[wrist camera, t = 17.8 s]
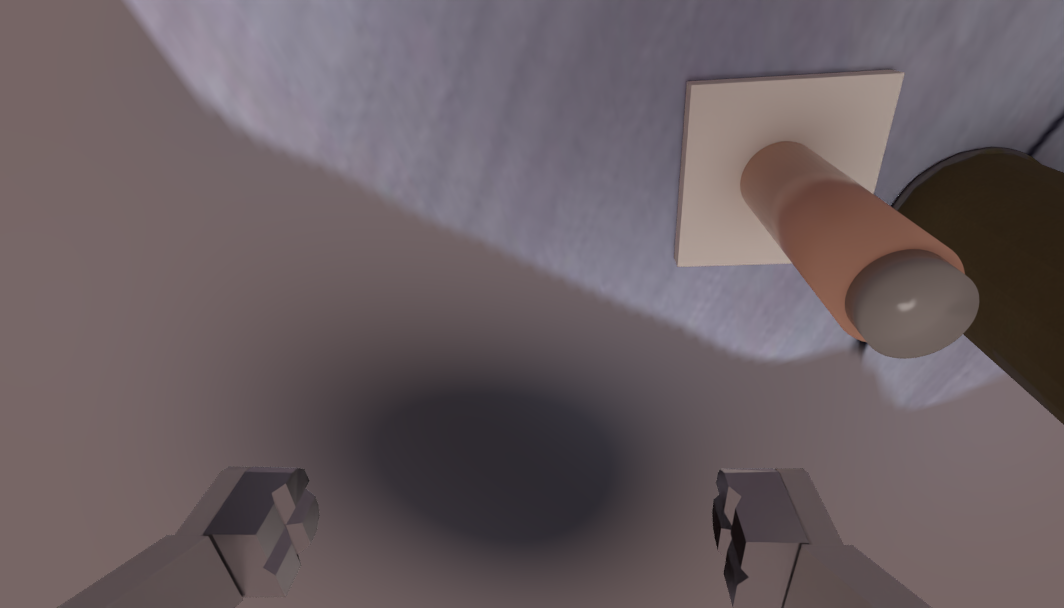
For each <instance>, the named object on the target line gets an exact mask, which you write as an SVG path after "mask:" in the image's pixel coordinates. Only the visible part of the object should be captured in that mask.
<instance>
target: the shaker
mask: <svg viewBox="0 0 1064 608" xmlns="http://www.w3.org/2000/svg"><path fill="white" fill-rule="evenodd" d="M740 190H741V194H742V197H743V199H744V201H745V202H746V204H747V205H748V206H749V208H750V209H751V210H752V212H753V213H754V214H755V215H756V217H757V218H758V219H759V221H760V222H761V223H762V225H763V226H764V227H765V228H766V230H767V231H768V232H769V234H770V235H771V236H772V238H773V239H774V240H775V241H776V243H777V244H778V245H779V247H780V248H781V249H782V251H783V252H784V253H785V254H786V256H787V257H788V258H789V260H790V261H791V262H792V264H793V265H794V266H795V267H796V269H797V270H798V271H799V273H800V274H801V275H802V277H803V278H804V279H805V280H806V282H807V283H808V284H809V286H810V287H811V288H812V290H813V291H814V292H815V293H816V295H817V296H818V297H819V299H820V300H821V301H822V303H823V304H824V305H825V307H826V308H827V309H828V310H829V312H830V313H831V314H832V316H833V317H834V318H835V320H836V321H837V322H838V323H839V325H840V326H841V327H842V328H843V330H844V331H845V332H847V333H848V334H849V335H851V336H852V337H854V338H856V339H858V340H861V341H864V342H867V343H868V344H869V345H870V346H871V347H872V348H873V349H874V350H875V351H877V352H879V353H880V354H883V355H885V356H889V357H893V358H916V357H921V356H925V355H928V354H931V353H934V352H936V351H939V350H941V349H943V348H945V347H946V346H948V345H950V344H951V343H953V342H954V341H955V340H957V339H958V338H959V337H960V336H961V335H962V334H963V333H964V332H965V331H966V330H967V329H968V328H969V327H970V325H971V324H972V322H973V320H974V319H975V316H976V314H977V311H978V308H979V293H978V290H977V287H976V285H975V284H974V283H973V281H972V280H971V279H970V278H969V277H968V276H966V275H965V272H964V267H963V264H962V262H961V260H960V259H959V257H958V256H957V254H956V253H955V252H953V251H952V250H951V249H950V248H948V247H947V246H946V245H944V244H943V243H941V242H940V241H939V240H937V239H936V238H934V237H933V236H932V235H930V234H929V233H927V232H926V231H925V230H923V229H922V228H920V227H919V226H917V225H916V224H915V223H913V222H912V221H910V220H909V219H908V218H906V217H905V216H903V215H902V214H901V213H899V212H898V211H896V210H895V209H894V208H892V207H891V206H889V205H888V204H887V203H885V202H884V201H882V200H881V199H880V198H878V197H877V196H875V195H874V194H872V193H871V192H870V191H868V190H867V189H865V188H864V187H863V186H861V185H860V184H858V183H857V182H856V181H854V180H853V179H851V178H850V177H849V176H847V175H846V174H844V173H843V172H842V171H840V170H839V169H837V168H836V167H835V166H833V165H832V164H830V163H829V162H828V161H826V160H825V159H823V158H822V157H820V156H819V155H818V154H816V153H815V152H813V151H812V150H811V149H809V148H808V147H806V146H805V145H803V144H801V143H797V142H792V141H783V142H777V143H773V144H771V145H768V146H766V147H764V148H763V149H761V150H760V151H758V152H757V153H756V154H755V155H754V156H753V157H752V158H751V159H750V160H749V162H748V163H747V165H746V166H745V168H744V170H743V173H742V176H741V180H740Z"/></svg>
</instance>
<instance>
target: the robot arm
mask: <svg viewBox="0 0 1064 608" xmlns="http://www.w3.org/2000/svg"><path fill="white" fill-rule="evenodd" d="M308 483H309V478H308V476H307V474H306V472H305V469H301V468H281V467H235V466H229V467H227V468H226V469H224V470H222V471H221V472H220V473H219V475H218V476H217V477H216V479H215V480H214V482H213V483H212V484H211V486H210V487H209V488H208V490H207V491H206V492H205V494H204V495H203V497H202V498H201V499H200V501H199V502H198V504H197V505H196V506H195V507H194V509H193V510H192V512H191V513H190V515H189V516H188V517H187V518H186V520H185V521H184V523H183V524H182V525H181V527H180V528H179V529H178V531H177V532H176V534H175V535H166V536H165V537H164V538H162V539H160V540H159V541H158V542H156V543H154V544H153V545H151V546H150V547H148V548H147V549H145V550H144V551H142V552H141V553H139V554H138V555H136V556H135V557H133V558H131V559H130V560H128V561H127V562H125V563H124V564H122V565H121V566H119V567H118V568H116V569H115V570H113V571H112V572H110V573H109V574H107V575H106V576H104V577H103V578H101V579H100V580H98V581H96V582H95V583H93V584H92V585H90V586H89V587H87V588H86V589H84V590H83V591H82V592H80V593H78V594H77V595H75V596H74V597H72V598H71V599H69V600H68V601H66V602H65V603H63V604H62V605H60V606H58V607H57V608H235V607H236V606H237V605H239V603H241V602H242V601H243V598H242V597H286V596H287V593H288V591H289V589H290V587H291V585H292V583H293V580H294V579H295V577H296V575H297V572H298V570H299V568H300V566H301V563H300V559H299V555H298V554H299V553H301V552H302V551H303V550H304V549H306V548H307V547H308V546H309V545H311V543H312V540H313V538H314V536H315V533H316V531H317V526H318V520H319V506H318V502H317V499H316V497H315V496H314V495H313V494H312V493H311V492H309V491H308V490H307V489H305V488H306V486H307V485H308ZM716 485H717V488H718V492H719V495H718V496H717V497H716V498H715V499H714V500H713V509H712V522H713V531H714V537H715V541H716V546H717V550H718V552H719V553H720V554H721V555H723V556H724V557H725V558H726V561H725V567H724V577H725V581H726V584H727V588H728V592H729V596H730V599H731V603H732V607H733V608H932V607H931V606H929V605H928V604H927V603H926V602H924V601H923V600H922V599H921V598H919V597H918V596H917V595H915V594H914V593H913V592H912V591H910V590H909V589H908V588H906V587H905V586H904V585H903V584H901V583H900V582H899V581H898V580H896V579H895V578H894V577H893V576H891V575H890V574H889V573H887V572H886V571H885V570H884V569H882V568H881V567H880V566H879V565H877V564H876V563H875V562H873V561H872V560H871V559H870V558H868V557H867V556H866V555H864V554H863V553H862V552H861V551H859V550H858V549H857V548H856V547H854V546H853V545H844V544H843V542H842V540H841V538H840V536H839V534H838V532H837V530H836V528H835V526H834V524H833V522H832V520H831V518H830V516H829V514H828V512H827V510H826V508H825V506H824V504H823V502H822V500H821V498H820V496H819V494H818V492H817V490H816V488H815V486H814V484H813V482H812V480H811V478H810V476H809V473H808V472H807V471H805V470H804V469H803V468H800V469H796V468H793V469H773V468H762V469H761V468H760V469H759V468H758V469H757V468H755V469H720V470H719V472H718V474H717V480H716Z"/></svg>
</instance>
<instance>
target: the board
mask: <svg viewBox="0 0 1064 608" xmlns="http://www.w3.org/2000/svg"><path fill="white" fill-rule="evenodd" d="M904 74H905V73H903V72H899V71H896V70H892V69H891V70H873V71H856V72H839V73H822V74H805V75H788V76H771V77H753V78H736V79H719V80H702V81H687V86H686V100H685V114H684V128H683V142H682V156H681V169H680V183H679V197H678V211H677V225H676V238H675V252H674V259H675V261H676V264H677V267H691V266H724V265H758V264H791V263H792V262H791V261H790V260H789V258H788V257H787V256H786V254H785V253H784V252H783V251H782V249H781V248H780V247H779V245H778V244H777V243H776V241H775V240H774V239H773V238H772V236H771V235H770V234H769V232H768V231H767V230H766V228H765V227H764V226H763V225H762V223H761V222H760V221H759V219H758V218H757V217H756V215H755V214H754V213H753V212H752V210H751V209H750V208H749V206H748V205H747V204H746V202H745V201H744V199H743V197H742V194H741V190H740V180H741V176H742V173H743V170H744V168H745V166H746V165H747V163H748V162H749V160H750V159H751V158H752V157H753V156H754V155H755V154H756V153H757V152H758V151H760V150H761V149H763V148H764V147H766V146H768V145H771V144H773V143H777V142H783V141H792V142H797V143H801V144H803V145H805V146H806V147H808V148H809V149H811V150H812V151H813V152H815V153H816V154H818V155H819V156H820V157H822V158H823V159H825V160H826V161H828V162H829V163H830V164H832V165H833V166H835V167H836V168H837V169H839V170H840V171H842V172H843V173H844V174H846V175H847V176H849V177H850V178H851V179H853V180H854V181H856V182H857V183H858V184H860V185H861V186H863V187H864V188H865V189H867V190H868V191H870V192H871V193H872V194H874V191H875V187H876V183H877V179H878V175H879V171H880V167H881V163H882V159H883V156H884V152H885V148H886V144H887V140H888V136H889V132H890V128H891V124H892V121H893V117H894V113H895V109H896V105H897V101H898V97H899V93H900V89H901V85H902V82H903V78H904Z"/></svg>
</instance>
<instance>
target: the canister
mask: <svg viewBox="0 0 1064 608" xmlns="http://www.w3.org/2000/svg"><path fill="white" fill-rule="evenodd" d="M892 208H894V209H895V210H896V211H898V212H899V213H901V214H902V215H903V216H905V217H906V218H908V219H909V220H910V221H912V222H913V223H915V224H916V225H917V226H919V227H920V228H922V229H923V230H925V231H926V232H927V233H929V234H930V235H932V236H933V237H934V238H936V239H937V240H939V241H940V242H941V243H943V244H944V245H946V246H947V247H948V248H950V249H951V250H952V251H953V252H955V253H956V254H957V256H958V257H959V259H960V260H961V262H962V264H963V267H964V272H965V275H966V276H968V277H969V278H970V279H971V280H972V281H973V283H974V284H975V285H976V287H977V290H978V293H979V308H978V311H977V314H976V316H975V319H974V320H973V322H972V324H971V325H970V327H969V328H968V329H967V330H966V331H965V332H964V333H963V334H964V335H965V336H966V337H967V338H968V339H969V340H970V341H971V342H972V343H974V344H975V345H976V346H977V347H978V348H979V349H980V350H981V351H982V352H984V353H985V354H986V355H987V356H988V357H989V358H990V359H991V360H993V361H994V362H995V363H996V364H997V365H998V366H999V367H1000V368H1001V369H1003V370H1004V371H1005V372H1006V373H1007V374H1008V375H1009V376H1010V377H1011V378H1013V379H1014V380H1015V381H1016V382H1017V383H1018V384H1019V385H1020V386H1022V387H1023V388H1024V389H1025V390H1026V391H1027V392H1028V393H1029V394H1030V395H1031V396H1033V397H1034V398H1035V399H1036V400H1037V401H1038V402H1039V403H1040V404H1041V405H1043V406H1044V407H1045V408H1046V409H1047V410H1048V411H1049V412H1050V413H1051V414H1053V415H1054V416H1055V417H1056V418H1057V419H1058V420H1059V421H1060V422H1061V423H1063V424H1064V173H1063V172H1060V171H1057V170H1055V169H1052V168H1049V167H1047V166H1044V165H1042V164H1040V163H1039V162H1038V161H1037V160H1035V159H1034V158H1033V157H1031V156H1029V155H1027V154H1025V153H1023V152H1020V151H1016V150H1012V149H1008V148H994V147H989V148H984V149H979V150H973V151H968V152H963V153H959V154H957V155H955V156H953V157H951V158H949V159H947V160H944V161H942V162H940V163H938V164H937V165H935V166H933V167H931V168H930V169H928V170H927V171H925V172H924V173H922V174H921V175H919V176H918V177H917V178H916V179H915V180H914V181H913V182H912V183H911V184H910V185H909V186H908V187H907V188H906V189H905V190H904V191H903V192H902V193H901V195H900V196H899V198H898V199H897V201H896V202H895V203H894V205H893V206H892Z"/></svg>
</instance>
